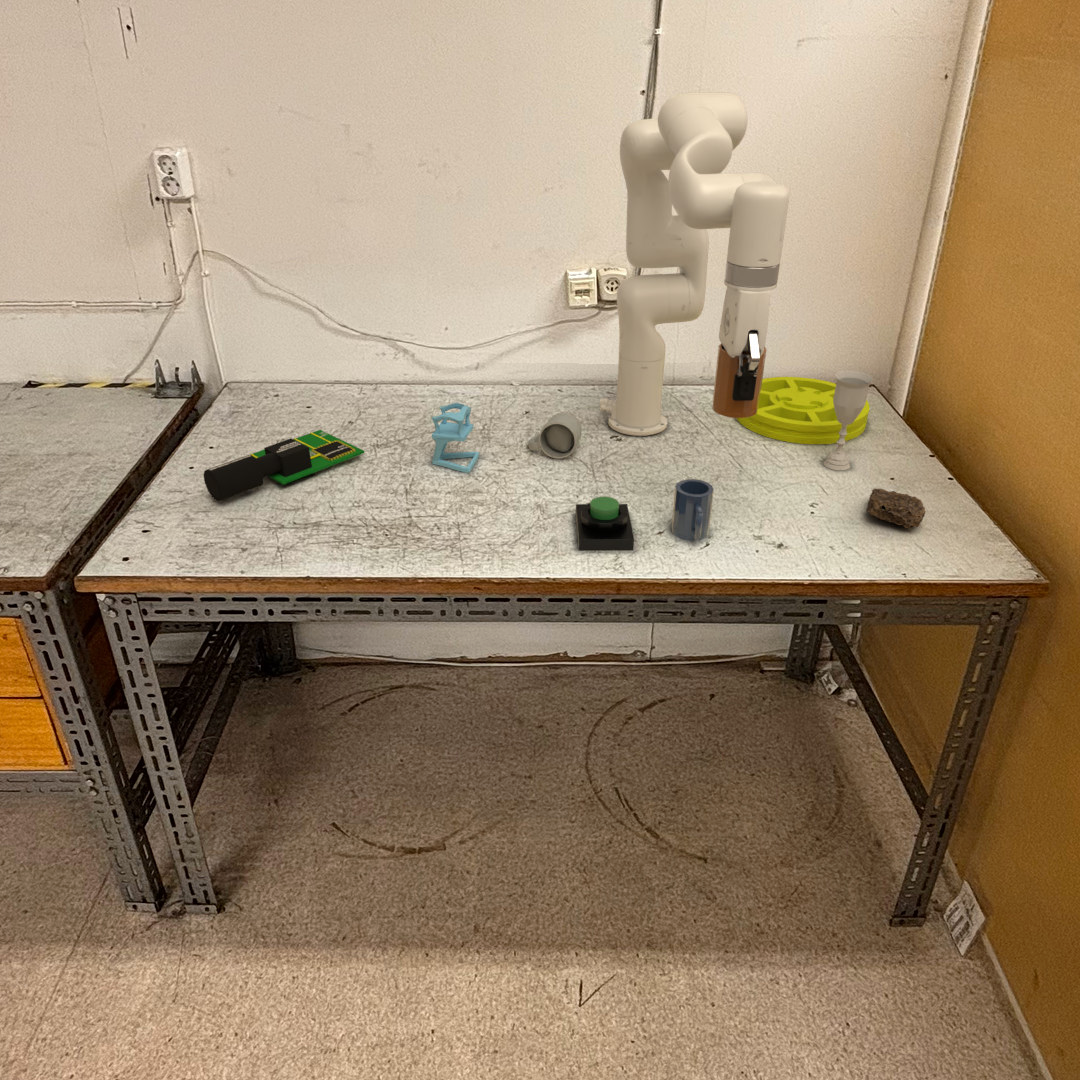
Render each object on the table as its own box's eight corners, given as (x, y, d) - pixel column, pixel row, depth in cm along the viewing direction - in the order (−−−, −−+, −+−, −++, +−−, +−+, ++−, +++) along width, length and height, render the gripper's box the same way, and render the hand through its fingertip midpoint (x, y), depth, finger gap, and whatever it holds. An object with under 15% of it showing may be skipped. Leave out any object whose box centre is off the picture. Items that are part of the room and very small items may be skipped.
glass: (706, 413, 135) (713, 351, 129) (719, 397, 140) (726, 337, 135) (750, 421, 132) (759, 358, 127) (762, 405, 137) (771, 344, 132)
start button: (619, 520, 143) (620, 510, 142) (590, 521, 143) (591, 510, 142) (617, 506, 147) (617, 496, 146) (589, 507, 147) (589, 496, 146)
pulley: (890, 439, 179) (895, 417, 177) (763, 448, 176) (766, 426, 173) (830, 390, 203) (834, 370, 200) (717, 397, 199) (719, 377, 196)
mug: (668, 523, 150) (672, 479, 145) (704, 522, 150) (709, 478, 146) (677, 550, 142) (682, 504, 138) (715, 549, 142) (720, 504, 138)
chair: (440, 452, 174) (436, 396, 168) (479, 456, 173) (477, 399, 166) (428, 469, 168) (423, 411, 161) (469, 473, 166) (466, 415, 160)
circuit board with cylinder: (316, 406, 177) (361, 426, 168) (321, 437, 180) (365, 458, 172) (179, 452, 158) (221, 477, 149) (187, 485, 162) (229, 512, 153)
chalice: (856, 474, 166) (875, 385, 156) (820, 471, 167) (836, 382, 157) (852, 458, 172) (870, 371, 162) (817, 455, 173) (833, 369, 164)
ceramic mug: (583, 443, 177) (583, 408, 173) (575, 460, 171) (576, 424, 167) (532, 440, 179) (531, 405, 175) (523, 456, 173) (522, 421, 169)
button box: (633, 550, 142) (634, 529, 140) (578, 551, 142) (579, 530, 140) (626, 514, 152) (627, 494, 150) (575, 515, 152) (576, 495, 150)
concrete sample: (916, 540, 145) (923, 514, 142) (855, 524, 149) (860, 498, 147) (929, 511, 153) (936, 486, 150) (871, 497, 158) (877, 472, 155)
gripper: (714, 260, 132) (702, 370, 142) (739, 291, 117) (724, 412, 127) (762, 259, 132) (748, 370, 142) (793, 290, 118) (775, 412, 127)
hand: (737, 389), depth 134 cm, fingers closed on glass, 7 cm apart
